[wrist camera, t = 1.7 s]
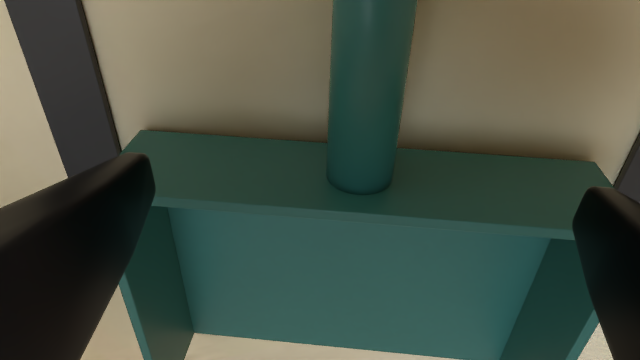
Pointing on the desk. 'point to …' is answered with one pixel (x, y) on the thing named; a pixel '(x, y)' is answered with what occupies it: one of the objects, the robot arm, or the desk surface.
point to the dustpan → (360, 229)
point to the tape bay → (88, 92)
